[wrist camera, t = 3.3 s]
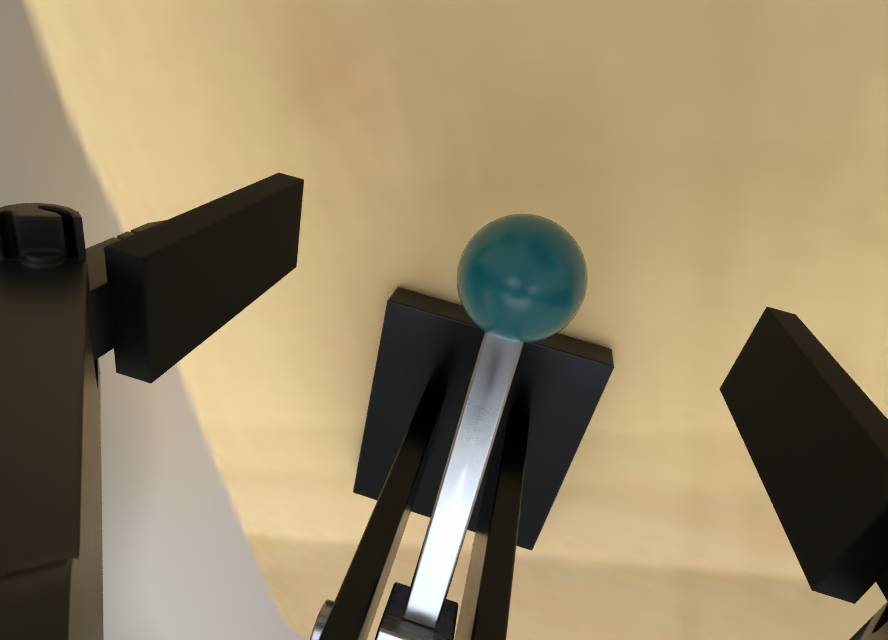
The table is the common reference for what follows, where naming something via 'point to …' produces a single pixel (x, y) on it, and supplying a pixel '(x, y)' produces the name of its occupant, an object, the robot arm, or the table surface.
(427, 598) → the ball knob joystick
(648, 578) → the table surface
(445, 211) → the table surface
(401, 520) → the lever base
